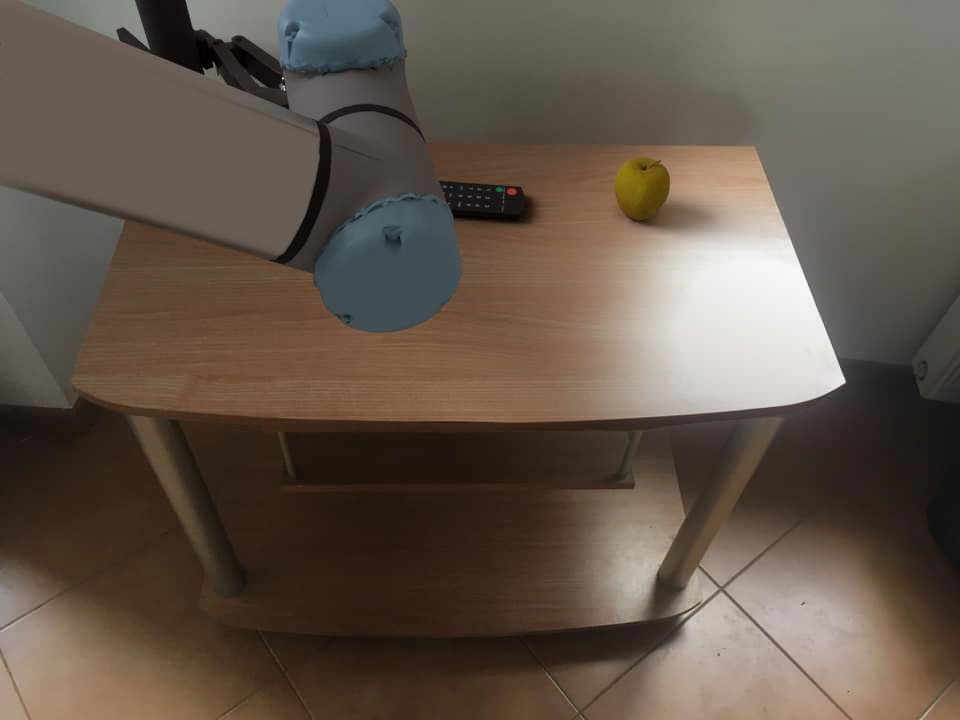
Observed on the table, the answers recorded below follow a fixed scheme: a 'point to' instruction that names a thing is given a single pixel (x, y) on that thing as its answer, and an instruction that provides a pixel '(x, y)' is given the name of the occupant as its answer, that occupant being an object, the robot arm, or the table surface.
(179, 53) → the tall dark cylinder
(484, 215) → the remote control
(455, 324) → the table surface
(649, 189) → the apple
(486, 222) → the table surface
